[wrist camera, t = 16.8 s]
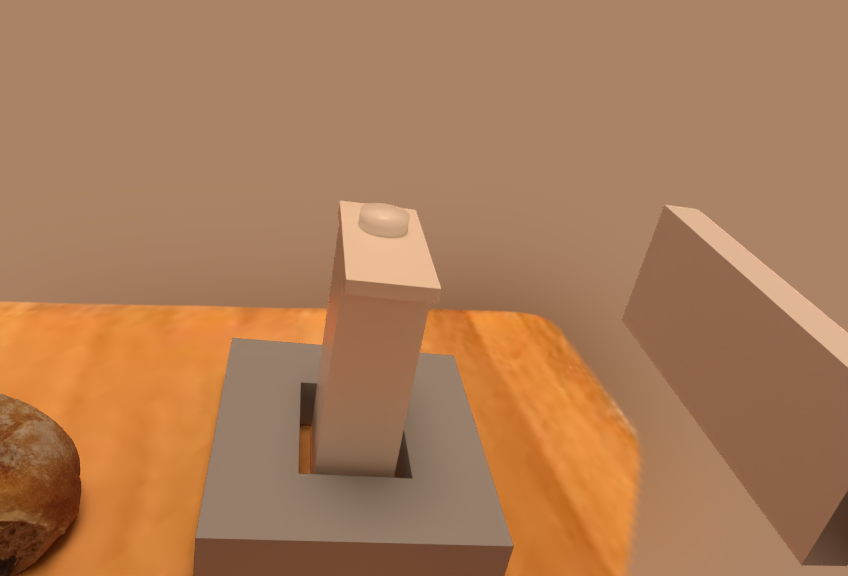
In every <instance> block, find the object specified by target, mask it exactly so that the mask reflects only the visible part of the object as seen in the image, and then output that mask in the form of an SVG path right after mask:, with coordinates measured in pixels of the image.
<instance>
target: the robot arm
mask: <svg viewBox="0 0 848 576" xmlns="http://www.w3.org/2000/svg"><path fill="white" fill-rule="evenodd" d="M622 321H623V323H624V324H625V325H626V327H627V328H628V329H629V331H630V332H631V333H632V335H633V336H634V338H635V339H636V340H637V341H638V343H639V344H640V346H641V347H642V348H643V349H644V351H645V353H646V354H647V355H648V357H649V358H650V359H651V361H652V362H653V363H654V365H655V366H656V367H657V369H658V370H659V371H660V373H661V374H662V376H663V377H664V378H665V380H666V381H667V382H668V384H669V385H670V386H671V388H672V389H673V391H674V392H675V393H676V395H677V396H678V397H679V398H680V400H681V401H682V403H683V404H684V406H685V407H686V408H687V409H688V411H689V412H690V414H691V415H692V416H693V418H694V419H695V421H696V422H697V423H698V425H699V426H700V427H701V429H702V430H703V432H704V433H705V434H706V436H707V437H708V438H709V440H710V441H711V442H712V444H713V445H714V447H715V448H716V449H717V450H718V452H719V453H720V455H721V456H722V457H723V459H724V460H725V462H726V463H727V464H728V466H729V467H730V468H731V469H732V471H733V472H734V474H735V475H736V477H737V478H738V479H739V480H740V482H741V483H742V485H743V486H744V487H745V489H746V490H747V492H748V493H749V494H750V496H751V497H752V498H753V500H754V501H755V502H756V504H757V505H758V506H759V508H760V509H761V510H762V512H763V513H764V515H765V516H766V517H767V519H768V520H769V522H770V523H771V524H772V526H773V527H774V528H775V530H776V531H777V532H778V534H779V535H780V536H781V538H782V539H783V541H784V542H785V543H786V544H787V546H788V547H789V549H790V550H791V551H792V553H793V554H794V555H795V557H796V558H797V560H798V561H799V562H800V564H801V565H824V566H825V565H827V566H828V565H829V566H847V565H848V333H847V332H846V331H845V330H843V329H842V328H841V327H840V326H839V325H838V324H836V323H835V322H834V321H833V320H831V319H830V318H829V317H828V316H827V315H825V314H824V313H823V312H822V311H821V310H819V309H818V308H817V307H816V306H814V305H813V304H812V303H811V302H810V301H808V300H807V299H806V298H805V297H804V296H802V295H801V294H800V293H799V292H797V291H796V290H795V289H794V288H793V287H791V286H790V285H789V284H788V283H787V282H785V281H784V280H783V279H782V278H781V277H779V276H778V275H777V274H775V272H773V271H772V270H771V269H770V268H768V267H767V266H766V265H764V264H763V263H762V262H761V261H760V260H759V259H758V258H756V257H755V256H754V255H753V254H751V253H750V252H749V251H748V250H747V249H745V248H744V247H743V246H742V245H741V244H739V243H738V242H737V241H736V240H734V239H733V238H732V237H731V236H730V235H728V234H727V233H726V232H725V231H724V230H722V229H721V228H720V227H719V226H718V225H716V224H715V223H714V222H713V221H711V220H710V219H709V218H708V217H707V216H705V215H704V214H703V213H702V212H701V211H699V210H698V209H691V208H685V207H678V206H670V205H664V207H663V210H662V213H661V216H660V218H659V221H658V224H657V226H656V229H655V232H654V234H653V237H652V240H651V242H650V245H649V248H648V251H647V253H646V256H645V259H644V261H643V264H642V267H641V269H640V272H639V275H638V278H637V280H636V283H635V286H634V288H633V291H632V294H631V296H630V299H629V302H628V305H627V307H626V310H625V313H624V315H623V318H622Z"/></svg>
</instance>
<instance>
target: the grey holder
mask: <svg viewBox="0 0 848 576" xmlns="http://www.w3.org/2000/svg"><path fill="white" fill-rule="evenodd" d="M321 352H322V345H315V344H303V343H290V342H278V341H265V340H253V339H240V338H232V342H231V348H230V353H229V359H228V364H227V369H226V375H225V380H224V386H223V391H222V397H221V402H220V407H219V413H218V418H217V424H216V429H215V435H214V440H213V445H212V451H211V456H210V462H209V467H208V473H207V478H206V483H205V489H204V494H203V500H202V505H201V511H200V516H199V521H198V527H197V532H196V538H195V556H194V574H193V576H504V575H505V572H506V569H507V566H508V562H509V559H510V556H511V553H512V550H513V547H514V546H513V543H512V539H511V536H510V533H509V530H508V527H507V523H506V520H505V517H504V514H503V511H502V508H501V504H500V501H499V498H498V495H497V492H496V488H495V485H494V482H493V479H492V476H491V472H490V469H489V466H488V463H487V460H486V457H485V453H484V450H483V447H482V444H481V441H480V437H479V434H478V431H477V428H476V425H475V421H474V418H473V415H472V412H471V409H470V406H469V402H468V399H467V396H466V393H465V390H464V386H463V383H462V380H461V377H460V374H459V370H458V367H457V364H456V361H455V358H454V356H453V355H440V354H428V353H419V358H418V363H417V368H416V373H415V378H414V382H413V387H412V392H411V397H410V402H409V406H408V411H407V416H406V421H405V426H404V431H403V435H402V440H401V445H400V450H399V455H398V460H397V464H396V469H395V474H396V478H388V477H365V476H343V475H320V474H299V433H300V425H312V418H313V410H314V403H315V396H316V388H317V381H318V374H319V367H320V359H321Z"/></svg>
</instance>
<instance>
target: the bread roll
mask: <svg viewBox="0 0 848 576" xmlns="http://www.w3.org/2000/svg"><path fill="white" fill-rule="evenodd" d="M79 475H80V459H79V455H78V452H77V449H76V447H75V445H74V443H73V441H72V439H71V438H70V437H69V435H68V434H67V433H66V432H65V431H64V430H63V429H62V427H60V426H59V425H58V424H57V423H56V422H55V421H54V420H52V419H51V418H50V417H48V416H47V415H45V414H44V413H42V412H41V411H39V410H38V409H36V408H35V407H33V406H31V405H29V404H27V403H25V402H23V401H20V400H18V399H13V398H11V397H9V396H6V395H4V394H0V576H15V575H17V574H18V573H20V572H22V571H24V570H25V569H27V568H28V567H29V566H31V565H32V564H34V563H35V562H36V561H37V560H38V559H39V558H40V557H41V556H42V555H43V554H44V553H45V552H46V551H47V550H48V549H49V547H50V546H51V545H52V544H53V543H54V541H55V540H56V539H57V538H58V537H59V536H60V535H63V534H65V533H66V529H67V528H68V527H69V526H70V524H71V523H72V521H73V520H74V519H75V517H76V515H77V513H78V511H79V504H80V496H81V481H80V477H79Z"/></svg>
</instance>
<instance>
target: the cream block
mask: <svg viewBox="0 0 848 576" xmlns="http://www.w3.org/2000/svg"><path fill="white" fill-rule="evenodd" d="M338 218H339V228H338V235H337V242H336V250H335V257H334V264H333V271H332V279H331V286H330V293H329V301H328V308H327V315H326V323H325V330H324V337H323V345H322V352H321V359H320V367H319V374H318V381H317V388H316V396H315V403H314V410H313V418H312V425H311V432H310V474H320V475H343V476H365V477H388V478H394V474H395V469H396V464H397V460H398V455H399V450H400V445H401V440H402V435H403V431H404V426H405V421H406V416H407V411H408V406H409V402H410V397H411V392H412V387H413V382H414V378H415V373H416V368H417V363H418V358H419V353H420V349H421V344H422V339H423V334H424V329H425V324H426V320H427V315H428V310H429V305H430V303H437V304H438V302H439V297H440V293H441V287H440V284H439V281H438V277H437V275H436V271H435V268H434V265H433V262H432V259H431V256H430V253H429V250H428V247H427V244H426V240H425V237H424V234H423V231H422V228H421V225H420V222H419V219H418V216H417V213H416V210H413V209H404V208H399V207H396V206H393V205H389V204H384V203H369V204H363V203H355V202H347V201H340V204H339V212H338Z"/></svg>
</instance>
